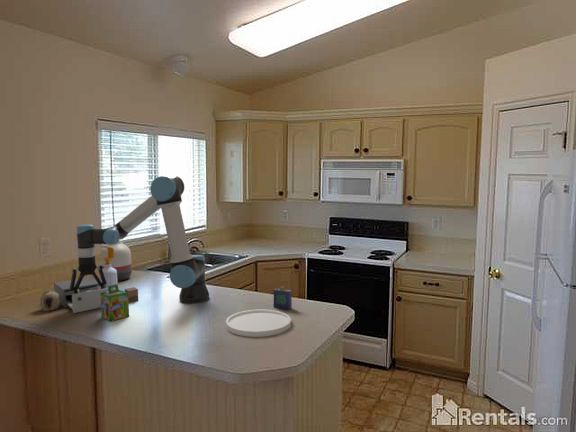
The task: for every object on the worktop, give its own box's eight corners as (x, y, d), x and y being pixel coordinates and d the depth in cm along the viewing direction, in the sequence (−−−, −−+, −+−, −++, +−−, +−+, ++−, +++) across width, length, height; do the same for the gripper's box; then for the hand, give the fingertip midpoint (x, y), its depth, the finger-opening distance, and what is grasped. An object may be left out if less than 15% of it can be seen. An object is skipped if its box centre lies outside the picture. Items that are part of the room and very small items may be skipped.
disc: (100, 295, 217) (99, 291, 216) (82, 298, 211) (82, 294, 211) (94, 291, 223) (94, 288, 222) (77, 294, 217) (77, 291, 217)
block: (138, 300, 226) (137, 289, 225) (128, 302, 222) (128, 290, 222) (134, 298, 229) (134, 287, 229) (125, 300, 226) (124, 288, 225)
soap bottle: (96, 290, 245) (94, 247, 242) (109, 286, 253) (106, 244, 251) (109, 292, 242) (106, 248, 239) (121, 287, 250) (119, 245, 247)
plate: (266, 342, 170) (266, 336, 170) (212, 329, 185) (212, 323, 185) (302, 321, 194) (302, 315, 194) (251, 310, 209) (251, 305, 208)
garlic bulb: (42, 314, 213) (34, 295, 212) (60, 307, 218) (53, 288, 218) (47, 312, 206) (39, 292, 206) (65, 305, 212) (58, 286, 212)
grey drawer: (114, 304, 218) (113, 287, 217) (73, 313, 205) (72, 295, 204) (101, 297, 232) (100, 280, 231) (63, 304, 219) (61, 287, 218)
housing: (106, 299, 228) (105, 282, 227) (64, 307, 215) (63, 289, 214) (95, 292, 242) (94, 276, 241) (55, 299, 229) (53, 282, 228)
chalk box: (111, 322, 194) (109, 289, 192) (100, 317, 200) (98, 285, 198) (130, 316, 201) (128, 285, 199) (119, 312, 207) (118, 281, 205)
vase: (107, 276, 278) (105, 239, 275) (135, 275, 280) (133, 238, 277) (98, 283, 261) (96, 243, 259) (128, 282, 263) (126, 243, 260)
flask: (292, 308, 211) (292, 286, 210) (290, 310, 208) (289, 288, 207) (274, 306, 214) (274, 284, 213) (272, 308, 212) (272, 286, 210)
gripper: (106, 252, 225) (109, 294, 227) (60, 258, 210) (63, 303, 213) (112, 254, 219) (114, 298, 222) (64, 260, 205) (67, 307, 207)
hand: (89, 300), depth 217 cm, fingers open, 9 cm apart
